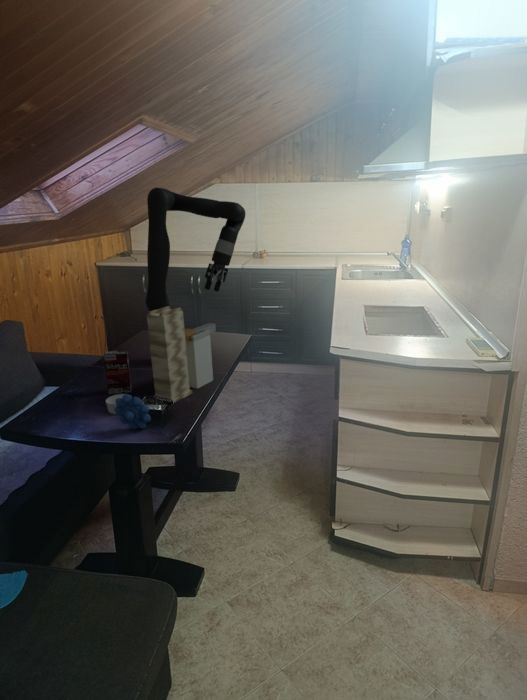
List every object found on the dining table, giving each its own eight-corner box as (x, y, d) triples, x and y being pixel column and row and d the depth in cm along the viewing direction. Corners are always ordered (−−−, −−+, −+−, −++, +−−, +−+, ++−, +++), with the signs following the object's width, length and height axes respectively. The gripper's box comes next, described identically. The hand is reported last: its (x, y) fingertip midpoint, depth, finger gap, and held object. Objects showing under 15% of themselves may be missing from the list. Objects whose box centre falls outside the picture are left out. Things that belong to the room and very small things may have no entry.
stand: (172, 403, 169) (163, 314, 159) (153, 398, 174) (143, 311, 164) (192, 393, 178) (185, 307, 168) (173, 388, 183) (165, 305, 173)
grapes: (111, 434, 147) (106, 399, 144) (120, 425, 154) (115, 391, 150) (147, 435, 146) (142, 400, 142) (154, 425, 152) (150, 391, 149)
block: (187, 342, 176) (186, 332, 174) (179, 341, 177) (178, 331, 176) (216, 330, 190) (216, 321, 189) (209, 329, 192) (208, 320, 191)
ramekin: (122, 416, 160) (121, 405, 159) (101, 413, 163) (99, 402, 162) (138, 406, 168) (136, 395, 167) (117, 403, 171) (116, 392, 170)
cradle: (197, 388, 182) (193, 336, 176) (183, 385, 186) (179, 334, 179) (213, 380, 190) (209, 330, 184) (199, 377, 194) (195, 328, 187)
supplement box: (108, 394, 179) (102, 355, 174) (109, 390, 184) (104, 351, 179) (131, 392, 181) (126, 353, 176) (132, 387, 185) (127, 349, 180)
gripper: (224, 252, 183) (211, 291, 186) (238, 257, 197) (226, 294, 199) (207, 246, 186) (195, 286, 188) (222, 252, 199) (211, 288, 202)
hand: (211, 290), depth 194 cm, fingers open, 8 cm apart
